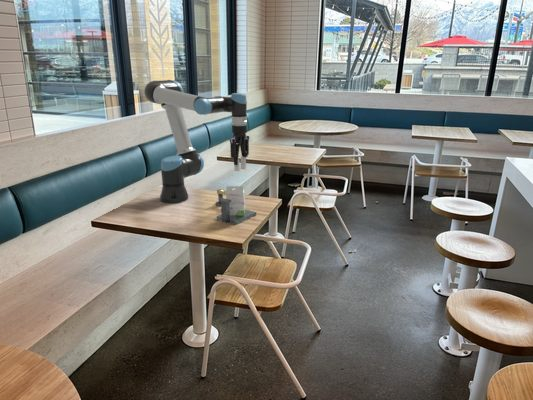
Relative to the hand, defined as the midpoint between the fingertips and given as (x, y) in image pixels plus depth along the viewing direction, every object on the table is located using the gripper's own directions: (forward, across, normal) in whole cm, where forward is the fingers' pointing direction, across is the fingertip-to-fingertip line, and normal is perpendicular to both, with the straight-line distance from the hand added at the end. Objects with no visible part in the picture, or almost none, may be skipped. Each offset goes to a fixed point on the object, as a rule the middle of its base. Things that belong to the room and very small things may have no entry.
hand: (240, 169), depth 211 cm
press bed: (+19, -17, -11) cm, 28 cm away
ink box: (+17, -17, -11) cm, 27 cm away
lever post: (+19, -7, +8) cm, 22 cm away
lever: (+13, -7, +1) cm, 15 cm away
